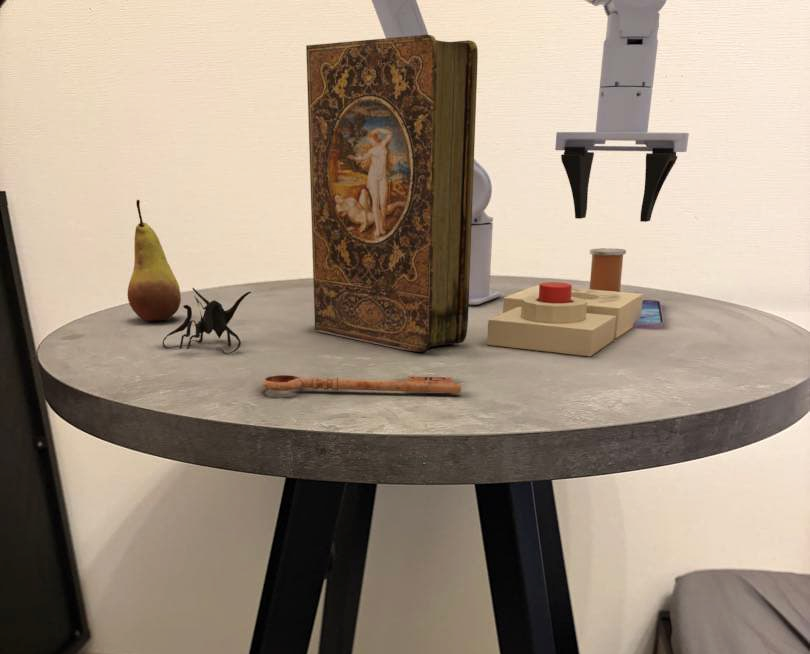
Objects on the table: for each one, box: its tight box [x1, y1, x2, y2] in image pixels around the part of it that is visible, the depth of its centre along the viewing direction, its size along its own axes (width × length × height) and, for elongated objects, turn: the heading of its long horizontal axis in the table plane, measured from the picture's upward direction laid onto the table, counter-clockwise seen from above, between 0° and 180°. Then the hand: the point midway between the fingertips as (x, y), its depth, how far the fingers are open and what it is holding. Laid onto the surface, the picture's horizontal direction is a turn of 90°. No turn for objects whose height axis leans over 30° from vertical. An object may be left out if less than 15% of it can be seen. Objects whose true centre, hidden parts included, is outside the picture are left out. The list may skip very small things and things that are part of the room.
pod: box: [589, 247, 627, 292], centre depth 104 cm, size 4×4×6 cm
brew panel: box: [486, 295, 616, 357], centre depth 82 cm, size 10×8×4 cm
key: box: [261, 374, 462, 394], centre depth 66 cm, size 6×1×15 cm
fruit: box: [127, 199, 182, 322], centre depth 89 cm, size 6×6×12 cm
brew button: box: [538, 281, 573, 303], centre depth 81 cm, size 3×3×2 cm
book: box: [305, 34, 479, 353], centre depth 79 cm, size 16×6×25 cm, turn 47°
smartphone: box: [631, 299, 665, 330], centre depth 97 cm, size 7×1×15 cm
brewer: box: [502, 284, 644, 340], centre depth 91 cm, size 12×10×3 cm
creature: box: [162, 287, 252, 355], centre depth 79 cm, size 8×5×8 cm
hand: (612, 219), depth 101 cm, fingers open, 7 cm apart
